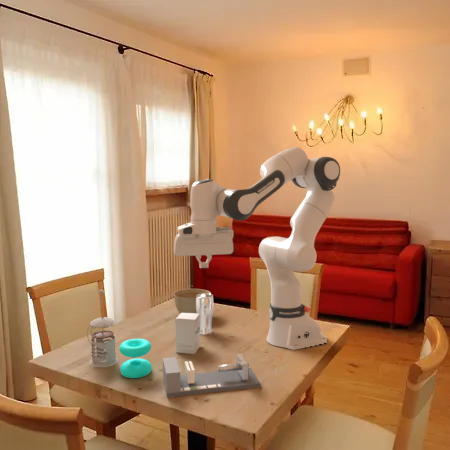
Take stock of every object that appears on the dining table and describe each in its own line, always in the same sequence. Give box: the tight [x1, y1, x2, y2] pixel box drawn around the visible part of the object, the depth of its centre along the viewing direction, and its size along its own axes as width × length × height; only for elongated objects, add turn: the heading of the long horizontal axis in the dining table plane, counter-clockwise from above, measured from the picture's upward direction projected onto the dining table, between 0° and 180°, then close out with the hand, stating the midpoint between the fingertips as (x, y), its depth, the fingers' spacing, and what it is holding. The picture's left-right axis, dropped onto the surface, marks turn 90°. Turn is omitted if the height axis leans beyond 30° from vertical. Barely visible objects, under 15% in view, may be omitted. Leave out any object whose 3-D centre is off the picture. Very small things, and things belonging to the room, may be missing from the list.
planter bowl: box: [173, 288, 212, 314], centre depth 205 cm, size 16×16×11 cm
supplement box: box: [175, 313, 201, 355], centre depth 169 cm, size 7×7×13 cm
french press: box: [86, 289, 119, 368], centre depth 159 cm, size 10×12×25 cm
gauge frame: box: [162, 356, 261, 398], centre depth 143 cm, size 28×11×7 cm, turn 103°
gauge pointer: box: [184, 360, 196, 384], centre depth 141 cm, size 2×6×4 cm, turn 13°
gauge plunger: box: [216, 352, 250, 380], centre depth 145 cm, size 9×8×5 cm
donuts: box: [118, 338, 153, 379], centre depth 151 cm, size 10×10×10 cm
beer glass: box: [196, 293, 215, 336], centre depth 187 cm, size 7×7×15 cm
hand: (203, 267), depth 161 cm, fingers closed
